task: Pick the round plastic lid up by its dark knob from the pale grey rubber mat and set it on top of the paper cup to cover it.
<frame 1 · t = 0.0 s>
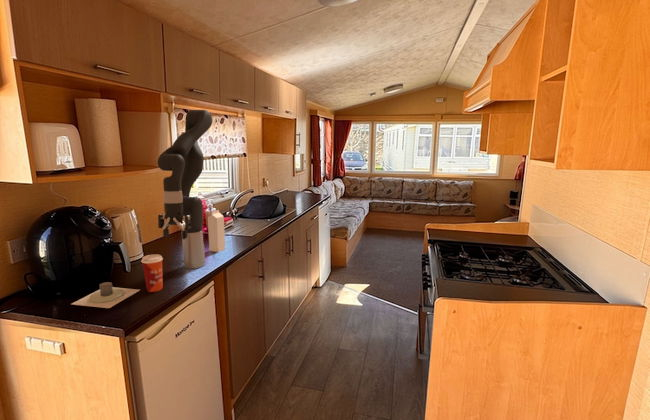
hand: (175, 238, 152), 17 cm above the worktop, tool pointing down, fingers open, 8 cm apart
lid: (107, 296, 133), point 1 cm above the worktop, touching mat
paper cup: (155, 290, 141), on the worktop
mat: (107, 298, 133), on the worktop
milk: (217, 250, 193), on the worktop
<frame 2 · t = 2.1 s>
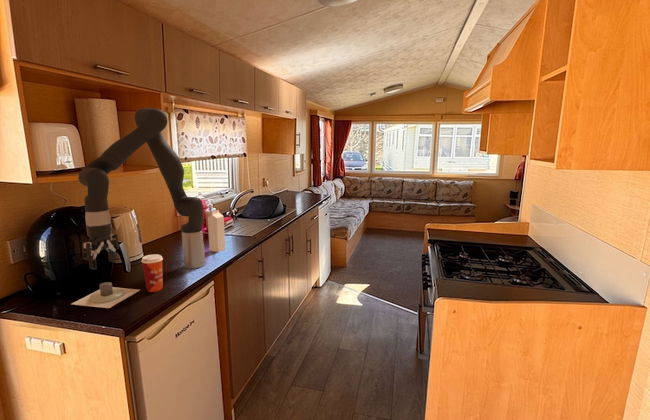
hand: (103, 265, 131), 13 cm above the worktop, tool pointing down, fingers open, 8 cm apart
nothing on the worktop moved.
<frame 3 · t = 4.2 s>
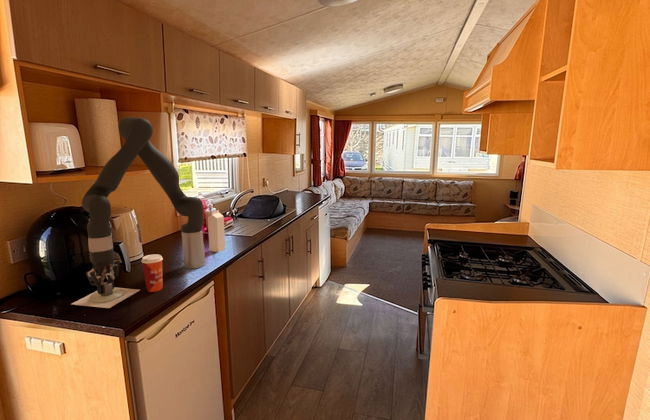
hand: (106, 291, 133), 3 cm above the worktop, tool pointing down, fingers closed on lid, 4 cm apart
lid: (107, 296, 133), point 1 cm above the worktop, touching gripper, mat
everything else where it was.
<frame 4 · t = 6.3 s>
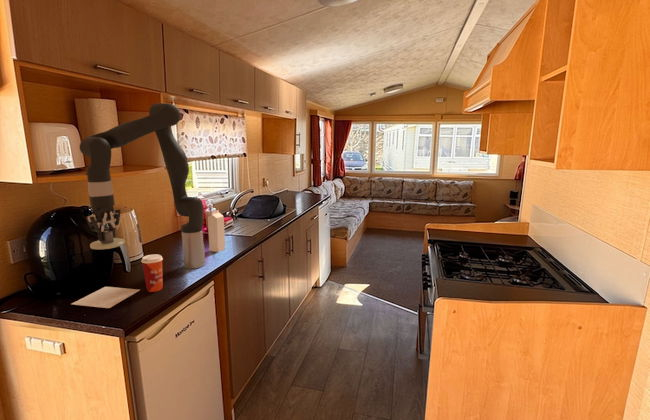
hand: (107, 239, 130), 23 cm above the worktop, tool pointing down, fingers closed on lid, 4 cm apart
lid: (107, 244, 131), point 21 cm above the worktop, touching gripper
everything else where it was.
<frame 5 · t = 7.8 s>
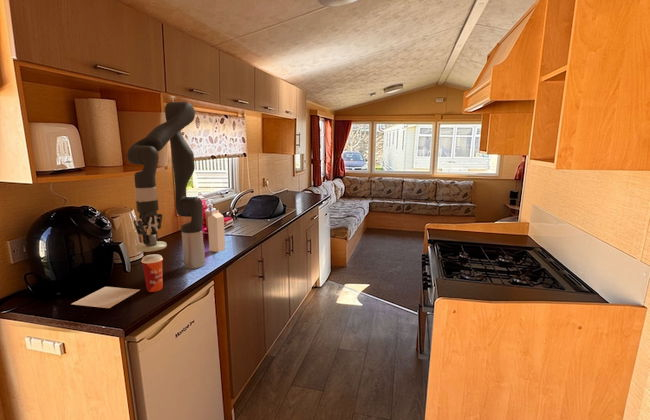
hand: (150, 242, 137), 20 cm above the worktop, tool pointing down, fingers closed on lid, 4 cm apart
lid: (151, 247, 137), point 18 cm above the worktop, touching gripper
everything else where it was.
when the fingers open (18 cm above the worktop, at t = 8.9 s): lid drops 2 cm, resting on paper cup.
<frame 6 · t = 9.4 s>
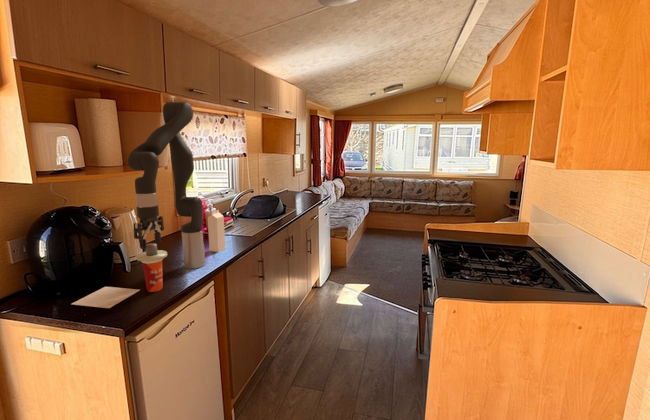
hand: (151, 245, 137), 19 cm above the worktop, tool pointing down, fingers open, 8 cm apart
lid: (152, 256, 138), point 14 cm above the worktop, touching paper cup
paper cup: (155, 290, 141), on the worktop, touching lid
everything else where it was.
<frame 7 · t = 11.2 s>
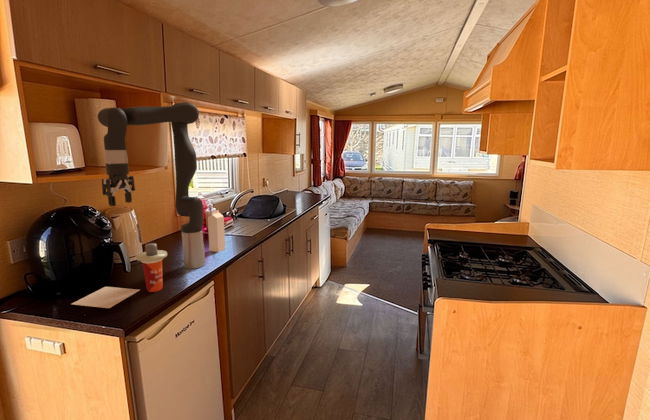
hand: (120, 204, 136), 34 cm above the worktop, tool pointing down, fingers open, 8 cm apart
nothing on the worktop moved.
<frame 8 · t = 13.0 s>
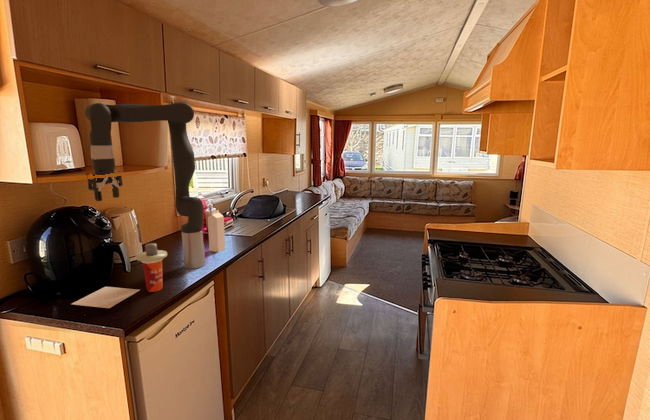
hand: (107, 199, 138), 36 cm above the worktop, tool pointing down, fingers open, 8 cm apart
nothing on the worktop moved.
at the end: lid 0.0 cm off-centre on the paper cup, point 14.2 cm above the paper cup's base; paper cup tilted 0°; the gripper is holding nothing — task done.
